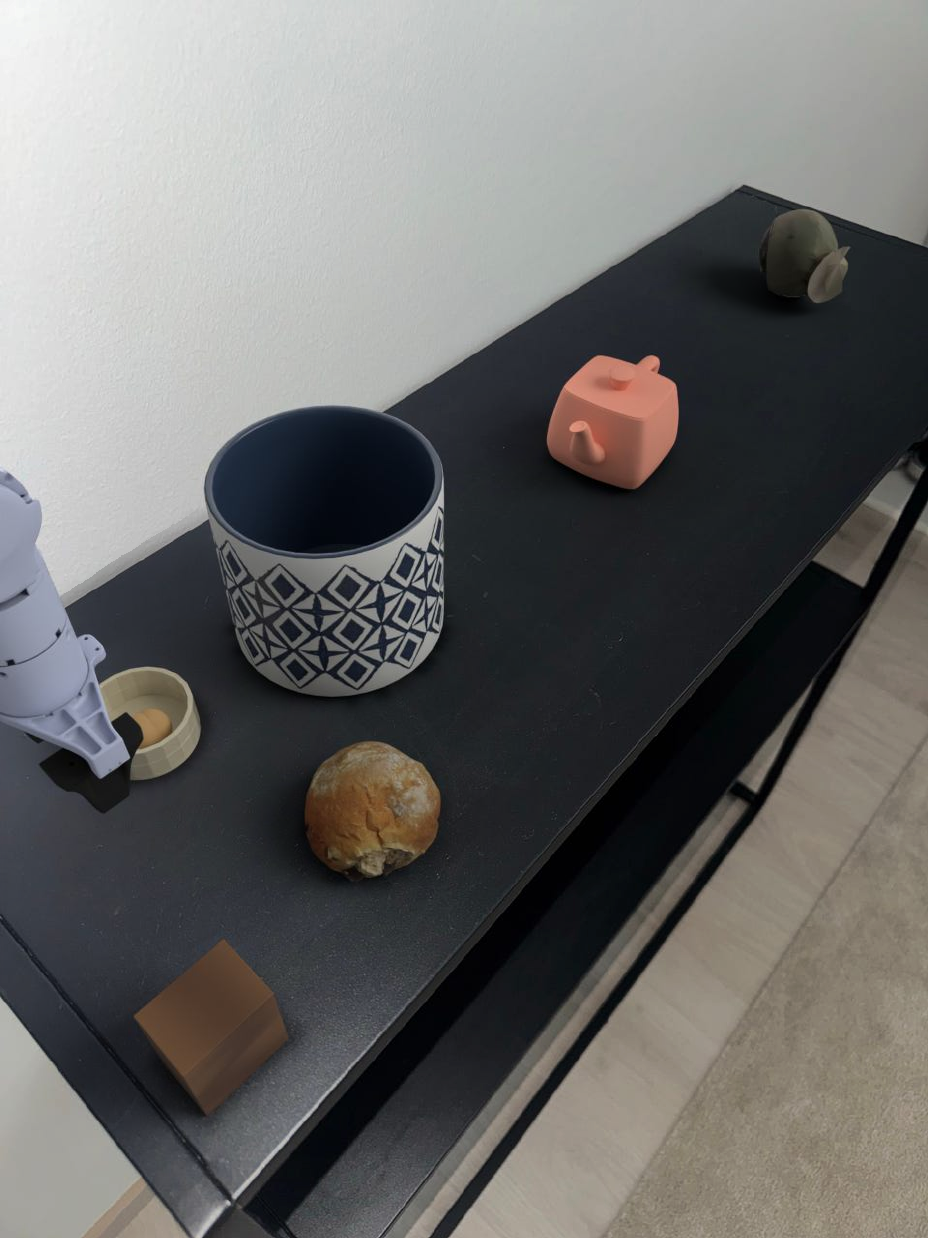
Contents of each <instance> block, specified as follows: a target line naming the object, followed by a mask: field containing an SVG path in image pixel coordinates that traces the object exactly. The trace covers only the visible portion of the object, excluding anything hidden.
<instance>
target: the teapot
mask: <svg viewBox="0 0 928 1238" xmlns="http://www.w3.org/2000/svg"><path fill="white" fill-rule="evenodd" d="M660 364H661V362H660V359H659V357H658V356H656V355H651V354H650V355H646V356H645V357H644V358H642V359H641V360H640V361H639V362H638V363H635V364H634V363H631V362H628V361H626V360H622V359H618V358H614V357H611V356H607V355H596V356H594V357H592V358H591V359H590V360H589V361H588V362H586V363H585V364H584V365H582V367H581V368H580V369H579V370H578V371H577V372H576V373H574V375H572V376H571V378H569V380H568V381H566V383H565V384H564V386H563V387H562V389H561V391H560V392H559V395H558V398H557V400H556V403H555V406H554V408H553V411H552V414H551V417H550V420H549V424H548V429H547V436H546V445H547V448H548V451H549V454H550V456H551V457H552V458H553V459H554V460H556V461H557V462H559V463H561V464H562V465H564V466H565V467H568V468H570V469H571V470H573V471H576V472H577V473H579V474H582V475H584V476H586V477H588V478H591V479H593V480H596V481H599V482H602V483H605V484H608V485H611V486H615V487H618V488H621V489H627V490H635V489H637V488H639V487H640V486H641V485H642V484H643V483H645V482H646V480H647V479H648V478H649V477H650V476H651V475H653V473H654V472H655V471H656V469H657V468H658V467H659V466H660V465H661V463H662V462H663V460H664V459H665V458H666V457H667V455H668V454H669V452H670V451H671V450H672V447H673V446H674V444H675V442H676V438H677V435H678V426H679V411H680V410H679V398H678V390H677V389H678V388H677V385H676V383H675V382H674V381H673V380H672V379H670V378H668V377H666V376H664V375H662V374H660V373H658V372H659V369H660Z"/></svg>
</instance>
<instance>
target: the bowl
mask: <svg viewBox="0 0 928 1238" xmlns="http://www.w3.org/2000/svg"><path fill="white" fill-rule="evenodd" d="M99 687H100V690H101V693H102V696H103V700H104V703H105V706H106V709H107V712H108V715H109V718H110V722H111V721H113V720H114V719H116V718H117V717H119V716H120V715H122V714H123V713H125V712H127V713H128V714H129V715H130V716H131V717H133V716H134V715H136V714H137V713H138V712H140V711H142V710H145V709H158V710H160V711H162V712H164V713H165V714H166V715H167V716H168V717H169V718H170V721H171V723H172V734H171V735H169V736H168V737H166V738H165V739H164V740H162V741H161V742H159V743H157V744H154V745H152V746H149V747H146V748H144V749H138V750H137V751H136V753H135V755H134V757H133V760H132V764H131V774H130V781H144V780H151V779H154V778H158V777H160V776H163V775H166V774H168V773H171V772H172V771H173V770H176V769H177V768H179V766H180V765H182V764H183V763H184V762H185V761H186V760H187V759H188V758H189V757H191V755H192V753H193V752H194V750H195V749H196V747H197V745H198V744H199V740H200V736H201V729H202V726H201V725H202V724H201V719H200V718H201V717H200V714H199V711H198V707H197V705H196V701H195V697H194V695H193V693H192V691H191V688H190V686H189V683H188V682H187V681H185V680H184V679H183V678H182V677H181V676H180V675H179V674H178V673H176V672H173V671H171V670H168V669H166V668H162V667H155V666H141V667H135V668H129V669H126V670H123V671H120V672H118V673H115V674H113V675H111V676H109V677H108V678H107V679H105V680H104V681H102V682H101V683H99Z"/></svg>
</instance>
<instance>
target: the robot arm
mask: <svg viewBox="0 0 928 1238" xmlns="http://www.w3.org/2000/svg"><path fill="white" fill-rule="evenodd" d="M42 522H43V511H42V506H41V502H40V500H39V499H36V498H34V499H33V498H32V496H31V495H30V494H29V491H28V489H26V486H24V484H23V483H22V482H21V481H19V480H18V478H16V477H15V476H14V475H13V474H12V473H11V472H9V471H8V470H7V469H5V467H3V465H1V464H0V722H1V723H3V724H5V725H7V726H9V727H12V728H15V729H16V730H20V731H22V732H24V733H25V734H26V736H27V737H28V738H29V739H31V740H32V741H33V742H34V743H36V744H37V745H39V744H41V743H42V742H44V741H46V742H49V743H50V744H54V745H56V746H57V747H58V746H59V747H61V748H60V749H58V750H57V751H56V752H54V753H52V754H51V755H49V756H48V757H46V758H45V759H44V760H42V761H40V762H39V763H38V767H40V769H41V770H42V771H43V772H44V773H45V775H46V776H47V777H48V778H49V779H50V780H51V781H52V783H54V785H56V786H57V787H58V788H60V789H62V790H63V791H65V792H67V793H77V794H78V795H81V796H82V797H83V798H84V799H85V800H86V801H87V803H89V804H90V805H91V807H93V808H94V809H95V810H96V811H97V812H99V813H100V814H103V815H105V814H107V813H108V812H109V811H111V810H112V809H114V808H115V807H116V806H117V805H119V804H121V803H122V802H123V801H125V800H126V799H128V798H129V797H130V794H131V780H130V774H131V764H132V760H133V757H134V755H135V753H136V751H137V749H138V748H139V746H140V744H141V743H142V742H143V739H144V737H143V732H142V729H141V726H140V725H139V724H138V723H137V722H136V721H135V720H134V719H133V718H132V717H131V716H130V715H129V714H128V713H127V712H125V713H123V714H122V715H120V716H119V717H117V718H116V719H114V720H113V721H111V722H110V718H109V715H108V712H107V709H106V706H105V703H104V700H103V696H102V693H101V690H100V687H99V685H100V683H99V681H98V678H97V675H96V671H95V669H96V666H97V665H98V664H100V663H101V662H103V661H104V660H105V659H106V656H107V653H106V650H105V648H104V646H103V645H102V643H101V642H99V641H98V640H97V638H95V637H94V636H93V635H91V634H89V633H88V634H82V635H80V636H78V637H77V635H76V632H75V630H74V628H73V624H72V623H71V620H70V618H69V616H68V613H67V611H66V609H65V606H64V603H63V601H62V598H61V596H60V594H59V592H58V590H57V587H56V585H55V582H54V580H53V577H52V575H51V573H50V571H49V567H48V566H47V563H46V561H45V558H44V556H43V554H42V552H41V550H40V548H39V547H38V545H37V544H36V542H37V540H38V538H39V535H40V532H41V528H42Z"/></svg>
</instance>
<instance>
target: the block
mask: <svg viewBox="0 0 928 1238" xmlns="http://www.w3.org/2000/svg"><path fill="white" fill-rule="evenodd" d="M280 1011H281V1010H280V1009H279V1005H278V1002H277V1000H276V997H275V993H274V992H273V991H272V989H270V987H269V986H268V985H267V984H266V982H264V980H262V979H261V978H260V976H259V975H258V974H257V973H256V972H255V971H254V970H253V969H252V968H251V967H250V965H248V963H246V962H245V960H244V959H243V958H242V957H241V956H240V955H239V954H238V953H237V952H236V951H235V949H234V948H232V946H231V945H230V944H229V943H228V942H227V941H226V940H225V939H221V940H220V941H219V942H218V943H217V944H215V945H214V946H213V947H212V948H210V950H208V951H207V952H206V953H205V954H204V955H202V956H201V957H200V958H199V959H198V960H197V961H196V962H195V963H193V964H192V965H191V966H190V967H189V968H187V969H186V970H185V971H184V972H183V973H182V974H180V975H179V976H178V977H177V978H175V980H174V981H172V982H171V983H170V984H169V985H168V986H167V987H165V988H164V989H163V990H162V991H161V992H159V993H158V994H156V995H155V997H154V998H153V999H151V1000H150V1001H149V1002H148V1003H147V1004H146V1005H144V1006H143V1007H142V1008H141V1009H140V1010H139V1011H137V1012H136V1013H135V1014H134V1015H133V1018H134V1020H135V1022H136V1024H138V1027H139V1028H140V1030H141V1031H142V1033H143V1034H144V1036H145V1037H146V1039H147V1040H148V1042H149V1043H150V1045H151V1046H152V1048H153V1050H154V1051H155V1053H156V1055H157V1056H158V1057H159V1059H160V1060H161V1062H162V1063H163V1064H164V1065H165V1067H166V1068H167V1069H168V1071H169V1072H170V1073H171V1074H172V1075H173V1077H174V1078H175V1079H176V1080H177V1081H178V1083H179V1084H180V1085H181V1087H182V1088H183V1089H184V1090H185V1091H186V1092H187V1094H188V1095H189V1096H190V1098H191V1099H192V1100H193V1102H194V1103H195V1104H196V1105H197V1107H199V1109H200V1110H201V1111H202V1113H203V1114H204V1115H205V1116H206V1117H208V1116H209V1115H211V1114H212V1113H213V1112H214V1111H215V1110H216V1109H217V1108H218V1107H219V1106H220V1105H221V1104H222V1103H223V1102H224V1101H225V1100H226V1099H228V1098H229V1096H231V1094H232V1093H234V1091H236V1090H237V1089H238V1088H239V1087H240V1086H241V1085H242V1084H243V1083H245V1081H246V1080H247V1079H248V1078H249V1077H250V1076H252V1074H253V1073H254V1072H255V1071H256V1070H258V1068H260V1067H261V1066H262V1065H263V1064H264V1063H265V1062H266V1061H267V1060H268V1059H269V1058H270V1057H271V1056H272V1055H273V1054H274V1053H275V1052H277V1050H278V1049H280V1047H282V1045H284V1044H285V1043H286V1042H287V1041H288V1040H289V1035H288V1033H287V1030H286V1026H285V1023H284V1020H283V1017H282V1015H281V1012H280Z"/></svg>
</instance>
